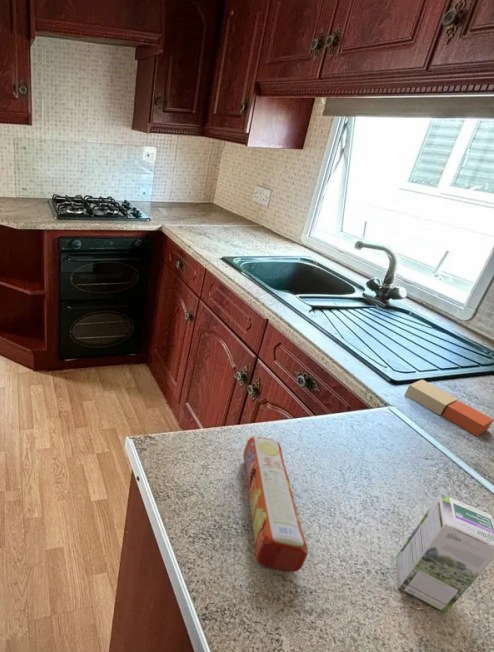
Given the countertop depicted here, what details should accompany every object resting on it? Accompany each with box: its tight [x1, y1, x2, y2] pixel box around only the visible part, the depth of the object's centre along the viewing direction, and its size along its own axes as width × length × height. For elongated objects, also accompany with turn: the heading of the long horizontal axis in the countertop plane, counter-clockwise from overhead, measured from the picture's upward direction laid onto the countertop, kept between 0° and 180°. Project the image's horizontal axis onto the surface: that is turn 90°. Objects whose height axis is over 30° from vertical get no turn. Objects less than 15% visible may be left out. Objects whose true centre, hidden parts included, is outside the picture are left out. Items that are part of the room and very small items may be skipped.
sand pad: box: [404, 379, 459, 416], centre depth 97 cm, size 8×6×3 cm
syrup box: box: [396, 493, 494, 614], centre depth 54 cm, size 6×6×14 cm
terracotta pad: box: [441, 400, 494, 437], centre depth 91 cm, size 7×5×3 cm
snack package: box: [242, 436, 309, 573], centre depth 64 cm, size 21×7×7 cm, turn 169°
